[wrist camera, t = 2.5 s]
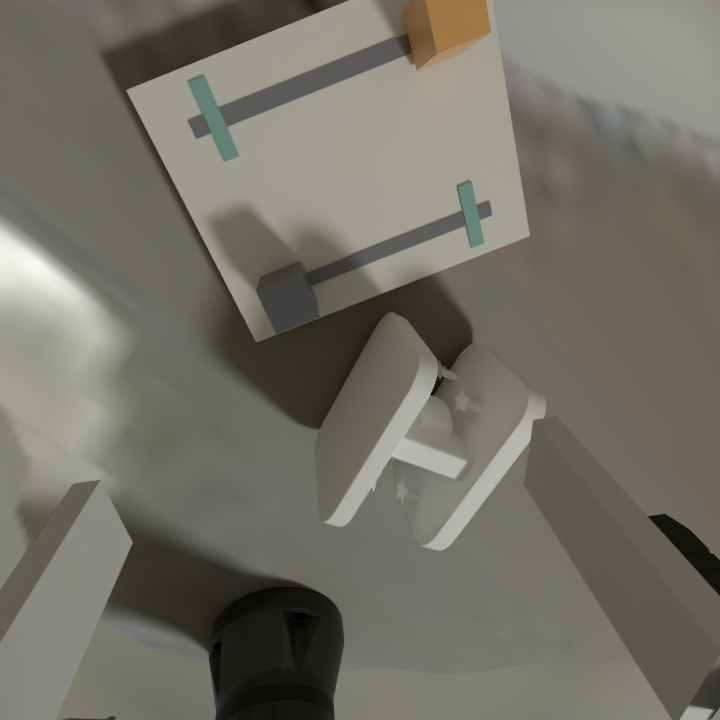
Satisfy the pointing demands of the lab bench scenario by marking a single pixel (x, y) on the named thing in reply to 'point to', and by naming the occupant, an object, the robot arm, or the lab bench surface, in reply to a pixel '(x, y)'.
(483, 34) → the orange fader
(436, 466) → the cable organizer
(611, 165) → the lab bench surface
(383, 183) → the mixing board
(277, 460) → the lab bench surface
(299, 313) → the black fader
